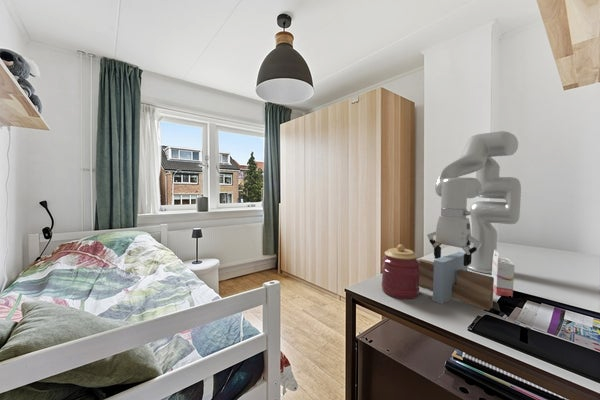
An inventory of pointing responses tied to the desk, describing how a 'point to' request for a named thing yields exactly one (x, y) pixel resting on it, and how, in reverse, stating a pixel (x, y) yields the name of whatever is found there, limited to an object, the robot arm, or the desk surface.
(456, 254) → the cross piece
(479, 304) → the slotted board
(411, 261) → the canister
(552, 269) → the desk surface
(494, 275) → the ink cartridge box
